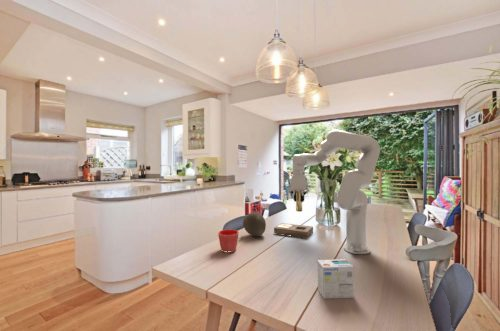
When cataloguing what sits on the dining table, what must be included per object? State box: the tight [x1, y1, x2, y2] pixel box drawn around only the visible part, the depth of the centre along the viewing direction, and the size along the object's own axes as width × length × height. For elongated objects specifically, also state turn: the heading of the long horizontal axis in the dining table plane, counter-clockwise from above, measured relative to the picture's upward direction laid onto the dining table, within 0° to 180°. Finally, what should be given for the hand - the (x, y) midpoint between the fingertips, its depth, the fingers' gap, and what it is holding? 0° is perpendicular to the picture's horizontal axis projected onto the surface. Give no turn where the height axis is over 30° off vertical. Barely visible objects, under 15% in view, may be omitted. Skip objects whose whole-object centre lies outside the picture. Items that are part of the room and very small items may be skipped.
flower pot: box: [217, 229, 239, 252], centre depth 125 cm, size 11×11×10 cm
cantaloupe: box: [242, 212, 267, 237], centre depth 149 cm, size 14×14×15 cm
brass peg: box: [295, 190, 303, 213], centre depth 152 cm, size 4×4×14 cm
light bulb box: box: [316, 258, 355, 300], centre depth 81 cm, size 11×7×11 cm, turn 92°
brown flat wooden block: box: [273, 222, 314, 239], centre depth 154 cm, size 14×22×4 cm, turn 61°
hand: (299, 201), depth 152 cm, fingers closed on brass peg, 4 cm apart
